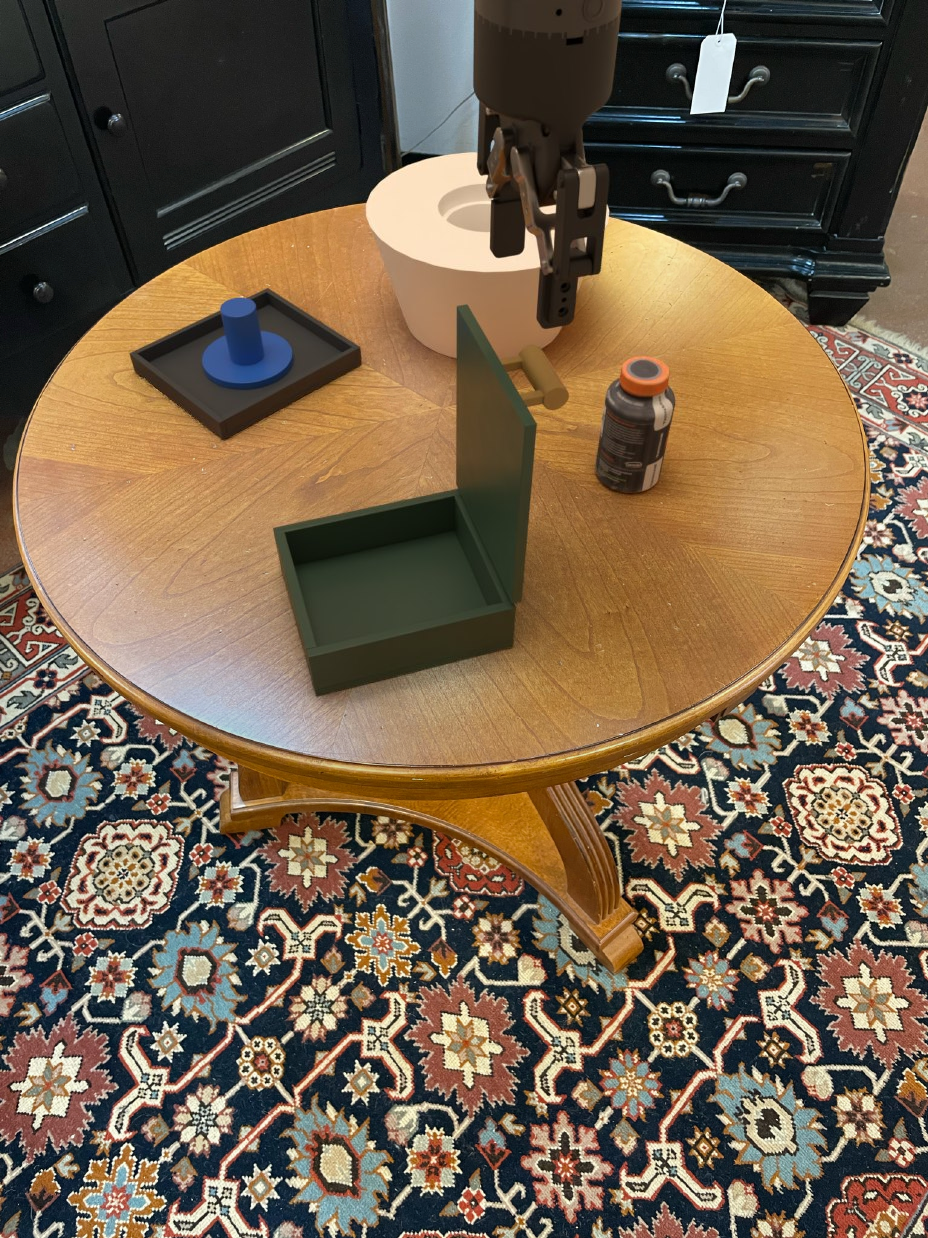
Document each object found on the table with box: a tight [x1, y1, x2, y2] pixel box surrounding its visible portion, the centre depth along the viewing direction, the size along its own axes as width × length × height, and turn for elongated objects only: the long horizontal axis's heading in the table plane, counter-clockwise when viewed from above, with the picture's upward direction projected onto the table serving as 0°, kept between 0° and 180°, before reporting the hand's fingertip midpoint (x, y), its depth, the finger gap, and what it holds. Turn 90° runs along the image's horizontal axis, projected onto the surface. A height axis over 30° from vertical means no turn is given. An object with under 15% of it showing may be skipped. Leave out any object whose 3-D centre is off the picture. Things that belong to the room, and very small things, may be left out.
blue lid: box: [202, 297, 293, 389], centre depth 94 cm, size 9×9×6 cm
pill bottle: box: [594, 355, 676, 494], centre depth 83 cm, size 6×6×11 cm
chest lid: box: [455, 304, 570, 604], centre depth 68 cm, size 16×14×5 cm
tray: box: [128, 287, 363, 441], centre depth 96 cm, size 17×15×2 cm
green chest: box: [272, 488, 517, 697], centre depth 75 cm, size 16×14×5 cm
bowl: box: [365, 151, 610, 359], centre depth 99 cm, size 24×24×12 cm
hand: (529, 287), depth 61 cm, fingers open, 8 cm apart
